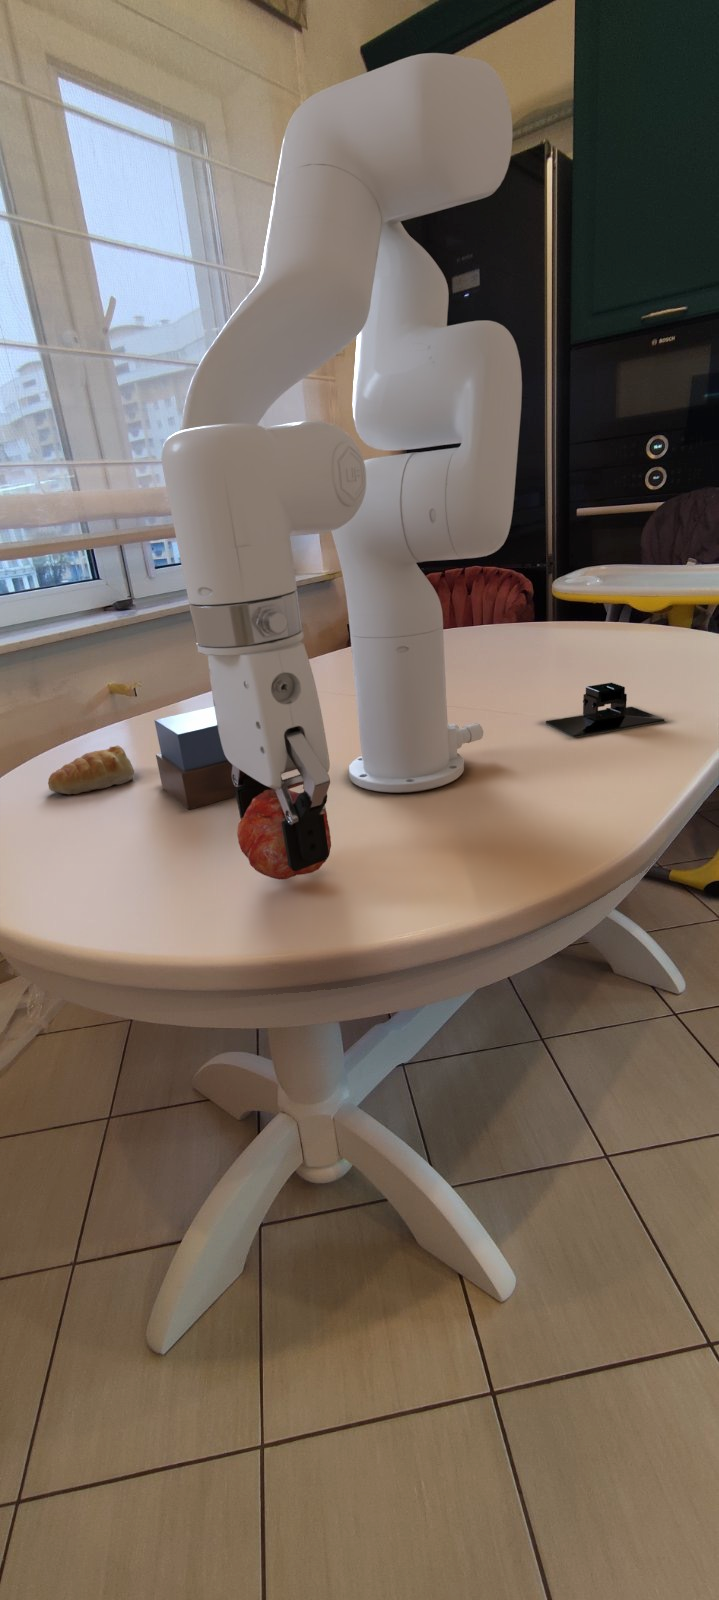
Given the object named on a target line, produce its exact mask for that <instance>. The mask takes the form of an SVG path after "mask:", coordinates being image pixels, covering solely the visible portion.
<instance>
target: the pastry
mask: <svg viewBox="0 0 719 1600" xmlns="http://www.w3.org/2000/svg"><path fill="white" fill-rule="evenodd" d="M134 774H135V770H134V766H133V764H132V762H131V760H130V759H129V757H128V756H127V754H126V751H125V750H124V748H122V747H121V746H120V745H114V746H109V748H107V749H101V750H94V751H89V752H86V753H84V754H83V755H81V756H80V757H77V758H75V759H74V760H73V761H71V762H69V763H65V764H64V765H63V766H62V767H60V768H59V769H57V770H56V771H53V772H52V773H51V774H50V775H49V777H48V782H47V784H48V789H49V790H50V791H52V792H55V793H59V794H66V795H69V796H70V795H72V794H73V795H79V794H80V793H85V792H87V793H89V792H91V791H94V790H95V791H96V790H102V789H105V788H110V787H112V786H113V785H122V784H126V783H127V782H129V781H131V780H133V779H134Z"/></svg>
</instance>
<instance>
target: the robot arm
mask: <svg viewBox="0 0 719 1600" xmlns="http://www.w3.org/2000/svg"><path fill="white" fill-rule="evenodd" d="M512 117H513V116H512V111H511V104H510V101H509V97H508V94H507V90H506V88H505V86H504V83H503V81H502V79H501V77H500V75H499V74H498V72H497V71H496V70H495V69H494V68H493V67H492V66H491V64H489V63H488V62H487V61H484V60H483V59H479V58H474V57H467V56H462V55H456V54H452V53H451V54H450V53H441V52H440V53H439V52H429V53H427V52H426V53H418V54H415V55H410V56H407V57H404V58H401V59H398V60H395V61H394V62H390V63H388V64H385V65H383V66H380V67H378V68H375V69H372V70H370V71H368V72H365V73H362V74H359V75H357V76H354V77H352V78H349V79H346V80H344V81H341V82H338V83H336V84H333V85H330V86H328V87H326V88H324V89H321V90H319V91H318V92H315V93H314V94H312V95H311V96H309V97H308V98H306V99H305V100H303V102H302V103H301V104H300V105H299V106H298V107H297V108H296V109H295V110H294V112H293V114H292V115H291V117H290V119H289V121H288V123H287V126H286V128H285V132H284V134H283V140H282V144H281V149H280V155H279V161H278V167H277V172H276V179H275V185H274V190H273V196H272V204H271V209H270V215H269V221H268V227H267V233H266V239H265V245H264V250H263V257H262V263H261V264H262V265H261V269H260V275H259V278H258V281H257V282H256V284H255V286H254V287H253V288H252V289H251V290H250V292H249V293H248V294H247V295H246V296H245V298H244V299H243V300H242V301H241V302H240V304H239V305H238V307H236V309H235V310H234V311H233V313H232V315H231V316H230V318H229V319H228V320H227V322H226V323H225V325H224V326H223V327H222V329H221V330H220V332H219V333H218V335H217V337H216V338H214V340H213V342H212V343H211V345H210V347H209V348H208V349H207V350H206V353H205V354H204V356H203V357H202V358H201V360H200V362H199V364H198V366H197V368H196V370H195V372H194V374H193V376H192V378H191V381H190V384H189V386H188V389H187V392H186V396H185V400H184V406H183V410H182V416H181V423H180V428H179V431H177V432H175V433H173V434H172V435H169V436H168V437H167V439H166V440H164V443H163V445H162V449H161V464H162V465H161V466H162V473H163V478H164V482H165V488H166V494H167V498H168V503H169V508H170V514H171V518H172V523H173V529H174V534H175V538H176V539H175V540H176V544H177V550H178V554H179V560H180V565H181V570H182V574H183V581H184V585H185V591H186V595H187V600H188V603H189V604H188V607H189V611H190V617H191V622H192V627H193V633H194V637H195V643H196V648H197V653H199V654H202V655H204V656H207V660H208V661H207V663H208V671H209V679H210V687H211V695H212V702H213V703H212V704H213V707H214V709H215V715H216V721H217V726H218V731H219V736H220V740H221V744H222V748H223V751H224V754H225V756H226V758H227V759H228V761H229V762H230V763H231V764H232V775H231V776H232V781H233V783H234V785H235V786H236V787H238V786H241V787H239V788H236V789H235V792H236V796H235V797H236V802H237V808H238V812H239V818H240V820H241V819H242V818H243V817H244V815H245V812H246V810H247V808H248V807H249V805H250V804H251V802H252V800H253V799H254V798H255V797H256V796H258V795H259V794H260V793H263V792H264V790H265V791H266V790H267V789H268V790H271V789H275V792H276V794H277V797H278V799H279V802H280V804H281V807H282V809H283V812H284V815H285V817H286V820H285V821H282V822H281V823H282V829H283V835H284V841H285V848H286V854H287V860H288V866H289V868H290V869H292V870H293V871H298V870H301V869H303V868H306V867H309V866H311V865H314V864H316V863H319V862H322V861H324V860H326V859H327V860H328V858H329V857H330V854H329V850H328V843H327V836H326V829H325V821H324V814H325V812H327V808H326V807H327V806H326V805H327V802H328V791H329V788H330V784H331V778H330V775H329V771H330V767H331V765H330V755H329V748H328V742H327V737H326V730H325V725H324V719H323V715H322V709H321V703H320V698H319V695H318V690H317V685H316V681H315V677H314V673H313V670H312V665H311V663H310V659H309V656H308V652H307V650H306V647H305V643H304V642H302V640H303V639H304V630H303V623H302V615H301V608H300V601H299V593H298V587H297V579H296V571H295V564H294V557H293V550H292V549H293V548H292V541H291V537H296V536H297V537H298V536H309V535H320V534H326V533H329V532H331V535H332V539H333V544H334V546H335V550H336V553H337V557H338V560H339V561H338V562H339V565H340V569H341V575H342V580H343V587H344V591H345V599H346V607H347V616H348V626H349V635H350V637H349V638H350V647H351V657H352V667H353V669H352V670H353V678H354V679H353V680H354V689H355V699H356V711H357V720H358V721H357V722H358V731H359V743H360V753H361V754H360V756H358V757H357V758H355V759H354V760H352V762H351V763H350V764H349V766H348V777H349V780H350V781H351V782H352V783H353V784H354V785H356V786H358V787H359V788H361V789H365V790H368V791H374V792H378V793H379V792H380V793H392V794H393V793H395V794H396V793H397V794H399V793H413V792H414V793H415V792H422V791H428V790H432V789H436V788H439V787H442V786H445V785H447V784H450V783H452V782H455V780H457V779H458V778H459V777H461V775H463V773H464V771H465V761H464V757H463V756H462V755H461V754H459V753H458V749H460V748H462V746H463V744H470V743H473V742H476V741H481V740H482V739H483V738H484V729H483V726H482V725H481V724H480V723H477V722H476V723H472V724H468V725H465V726H462V727H459V726H458V724H457V723H452V724H449V723H448V722H449V721H448V703H447V702H448V700H447V682H446V681H447V680H446V679H447V678H446V657H445V639H444V637H445V636H444V615H443V608H442V604H441V599H440V597H439V595H438V593H437V591H436V589H435V588H434V586H433V585H432V584H431V582H430V581H429V579H428V578H427V576H426V575H425V573H424V572H423V571H422V570H421V569H420V567H419V566H418V564H417V563H423V562H433V561H434V562H435V561H450V560H453V561H454V560H465V559H477V558H482V557H487V556H490V555H492V554H494V553H496V552H497V551H499V550H500V549H501V548H502V546H504V544H505V542H506V540H507V538H508V535H509V532H510V529H511V525H512V520H513V519H512V518H513V513H514V512H513V511H514V501H515V491H516V490H515V489H516V477H517V464H518V452H519V440H520V427H521V414H522V396H523V380H522V377H523V376H522V365H521V358H520V354H519V350H518V346H517V343H516V341H515V338H514V336H513V335H512V333H511V332H510V331H509V330H508V328H506V326H504V325H503V324H501V323H499V322H497V321H493V320H473V321H466V322H461V323H456V324H451V325H448V314H449V313H448V312H449V302H450V301H449V300H450V299H449V298H450V297H449V295H450V293H449V287H448V286H449V285H448V283H447V279H446V277H445V275H444V273H443V271H442V269H441V268H440V267H439V265H438V264H437V262H436V261H435V260H434V259H433V257H432V256H431V255H430V253H429V252H427V250H426V249H425V248H424V247H423V246H422V245H421V244H420V243H419V242H417V241H416V240H415V239H414V238H413V237H411V236H410V235H409V233H408V231H407V230H406V229H405V227H404V225H403V224H402V222H403V221H408V220H411V219H414V218H418V217H422V216H425V215H429V214H433V213H437V212H439V211H443V210H446V209H450V208H455V207H456V206H461V205H464V204H468V203H471V202H475V201H478V200H482V199H485V198H488V197H490V196H491V195H493V194H494V193H495V192H497V190H498V189H499V188H500V186H501V184H502V183H503V181H504V179H505V177H506V175H507V172H508V169H509V165H510V162H511V157H512V151H513V150H512V149H513V134H514V131H513V119H512ZM355 339H356V346H355V361H354V375H353V388H352V416H353V422H354V427H355V431H356V433H357V435H358V437H359V439H360V440H362V442H363V443H364V444H365V445H366V446H368V447H370V448H371V449H375V450H381V451H388V452H389V451H390V452H391V451H407V450H417V449H424V448H431V447H439V446H444V445H445V446H447V445H454V444H460V446H457V447H451V448H444V449H443V448H442V449H436V450H429V451H420V452H418V451H416V452H408V453H401V454H400V453H399V454H392V455H385V456H377V457H372V458H368V459H364V457H363V453H362V452H361V450H360V447H359V445H358V444H357V443H356V441H355V440H354V438H353V437H351V435H350V434H349V433H348V432H347V431H346V430H344V429H343V428H341V427H340V426H338V425H335V424H333V423H331V422H327V421H322V420H304V421H297V422H289V423H283V424H279V425H268V426H262V425H260V424H259V423H260V421H261V420H262V419H263V417H264V416H265V414H266V413H267V411H268V410H269V409H270V408H271V407H272V405H273V404H275V402H276V401H277V400H278V399H280V397H281V396H282V395H284V394H285V392H287V391H288V390H290V389H291V388H292V387H294V386H295V385H296V384H297V383H299V382H300V381H302V380H303V379H305V378H306V377H308V376H309V375H311V374H312V373H314V372H315V371H316V370H318V369H319V368H321V367H323V366H324V365H325V364H326V363H327V362H329V361H330V360H332V359H333V358H334V357H335V356H336V355H338V354H339V353H341V352H342V351H343V350H344V349H345V348H347V347H348V346H349V345H350V344H351V343H353V341H354V340H355ZM296 770H297V772H298V773H299V774H296V775H294V776H290V777H287V778H284V779H283V778H282V774H283V775H284V774H285V773H289V772H292V771H296ZM300 786H302V789H303V792H299V793H300V794H299V795H298V797H297V799H296V801H295V803H293V800H292V798H291V795H290V792H289V790H291V789H293V788H297V787H300ZM288 789H289V790H288ZM327 860H326V861H327Z"/></svg>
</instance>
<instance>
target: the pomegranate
mask: <svg viewBox="0 0 719 1600" xmlns="http://www.w3.org/2000/svg"><path fill="white" fill-rule="evenodd" d="M288 790H289V792H290V795H291V798H292V800H293V803H295V801H296V799H297V797H298V795H299V794H300V793H301V792H297V791H294V790H291V789H288ZM285 820H286V817H285V815H284V812H283V809H282V807H281V804H280V802H279V799H278V797H277V794H276V792H275V789H271V790H268V789H267V790H266V791H265V790H264V792H263V793H260V794H259V795H258V796H256V797H255V798H254V799H253V800H252V802H251V804H250V805H249V807H248V808H247V810H246V812H245V815H244V817H243V818H242V819H240V820H239V821H238V823H237V827H236V828H237V829H236V836H237V840H238V841H237V842H238V845H239V848H240V850H241V852H242V854H243V855H244V856H245V857H246V858H247V859H248V862H249V865H250V866H251V867H252V868H253V869H254V870H255V871H256V872H258V873H260V874H261V875H263V876H266V877H269V878H272V879H275V880H278V881H279V880H281V881H282V880H287V879H290V878H292V877H296V876H302V875H307V874H312V873H314V872H316V871H318V870H319V869H320V868H321V867H322V866H323V864H325V863H326V861H327V860H328V858H327V859H326V860H324V861H322V862H319V863H316V864H314V865H311V866H309V867H306V868H303V869H301V870H298V871H293V870H292V869H290V868H289V866H288V860H287V854H286V848H285V841H284V835H283V829H282V823H281V822H282V821H285ZM324 821H325V829H326V836H327V843H328V850H329V855H330V853H331V849H332V841H331V840H332V839H331V832H330V831H331V830H330V826H329V820H328V813H327V811H326V812H325V814H324Z"/></svg>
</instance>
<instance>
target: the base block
mask: <svg viewBox="0 0 719 1600" xmlns="http://www.w3.org/2000/svg"><path fill="white" fill-rule="evenodd" d="M155 758H156V762H157V768H158V773H159V778H160V781H161V787H162V788H163V789H164V790H165V791H166V792H167V793H169V795H171V796H172V797H173V798H174V799H176V800H177V801H178V802H179V803H180V804H181V805H183V807H185V808H186V809H187V810H193V809H196V808H200V807H204V806H207V805H211V804H213V803H217V802H221V801H224V800H227V799H231V798H234V797H236V792H235V789H236V788H239V787H241V786H238V787H236V786H235V785H234V783H233V781H232V776H231V775H232V764H231V763H230V762H229V761H228V760H227V761H223V762H219V763H215V764H211V765H208V766H204V767H200V768H196V769H192V770H188V771H184V770H182V769H181V768H180V767H178V766H177V765H175V764H174V763H173V762H171V761H170V760H169V759H167V758H166V757H164V756H163V755H162V754H161V752H160V753H157V754H155Z"/></svg>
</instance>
